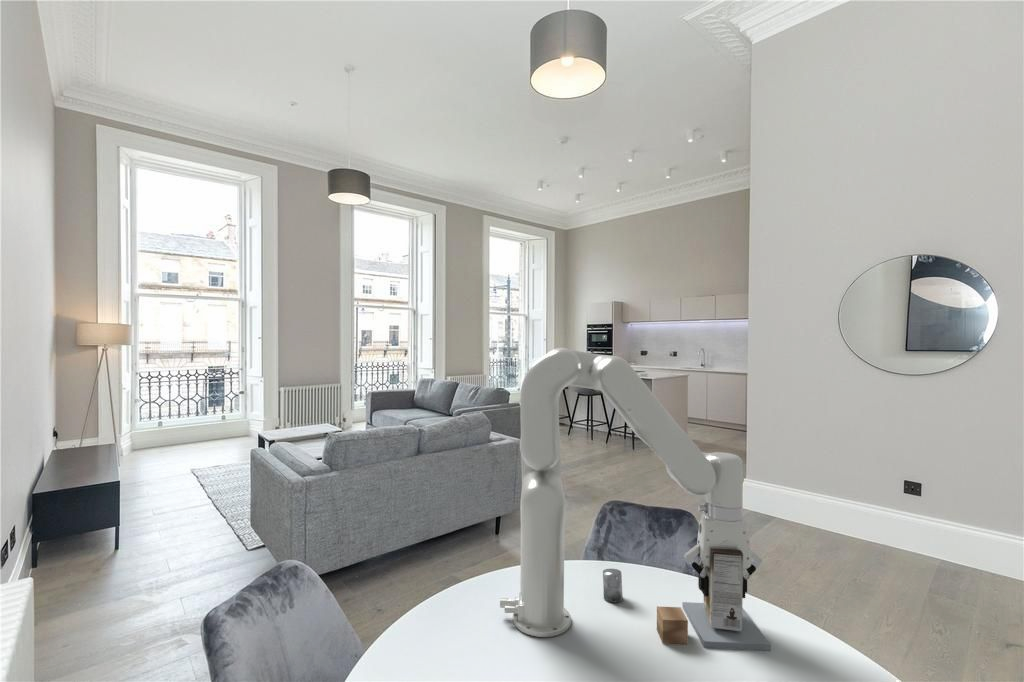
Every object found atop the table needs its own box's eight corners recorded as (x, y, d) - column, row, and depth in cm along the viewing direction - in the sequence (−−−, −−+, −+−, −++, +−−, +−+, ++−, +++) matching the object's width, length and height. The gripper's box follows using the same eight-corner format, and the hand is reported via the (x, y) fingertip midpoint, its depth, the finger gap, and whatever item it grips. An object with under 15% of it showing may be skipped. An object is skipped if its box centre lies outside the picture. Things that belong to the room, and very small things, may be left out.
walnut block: (662, 644, 98) (662, 619, 98) (656, 630, 103) (656, 606, 103) (687, 645, 98) (687, 620, 98) (680, 631, 103) (680, 607, 103)
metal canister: (611, 603, 113) (610, 577, 113) (600, 596, 117) (598, 570, 117) (626, 599, 115) (625, 573, 115) (614, 592, 119) (613, 567, 119)
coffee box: (702, 605, 109) (703, 534, 109) (732, 608, 108) (733, 536, 108) (710, 628, 100) (711, 550, 100) (744, 632, 99) (744, 553, 99)
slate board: (703, 647, 97) (703, 641, 97) (682, 607, 112) (682, 602, 112) (770, 650, 96) (770, 644, 96) (740, 609, 111) (740, 604, 111)
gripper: (687, 515, 101) (686, 601, 101) (772, 519, 100) (772, 605, 100) (677, 504, 109) (676, 583, 109) (757, 507, 108) (756, 587, 107)
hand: (722, 593), depth 104 cm, fingers open, 7 cm apart
